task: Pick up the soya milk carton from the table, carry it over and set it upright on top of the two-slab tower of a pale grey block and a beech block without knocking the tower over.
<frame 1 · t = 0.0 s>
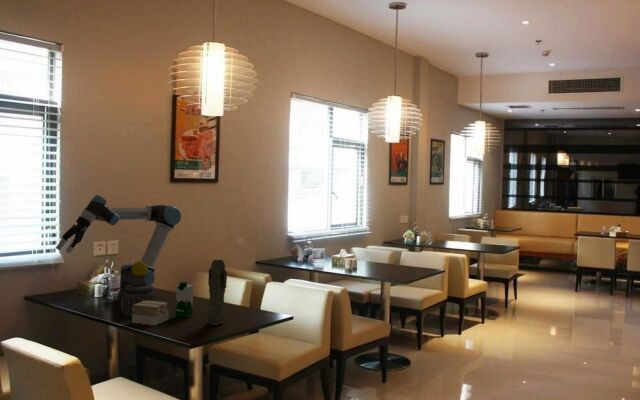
hand: (62, 250, 322), 36 cm above the table, tool tilted 35°, fingers open, 13 cm apart
thermos: (215, 323, 320), on the table
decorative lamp: (138, 313, 337), on the table
soya milk: (184, 317, 332), on the table
tower base: (150, 321, 319), on the table, touching tower top
tower top: (150, 312, 318), point 5 cm above the table, touching tower base
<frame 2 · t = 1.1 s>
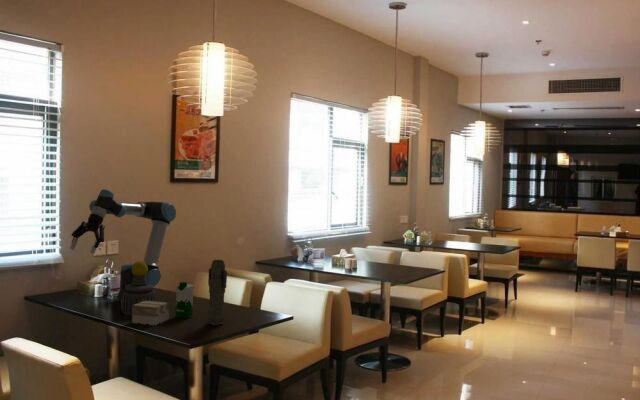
hand: (81, 251, 315), 37 cm above the table, tool tilted 30°, fingers open, 13 cm apart
nothing on the table moved.
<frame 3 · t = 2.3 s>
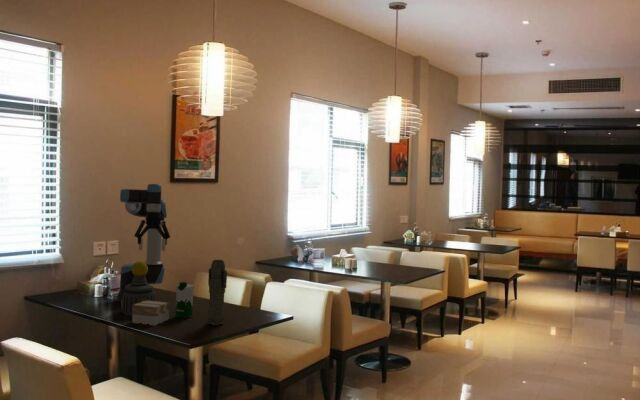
hand: (152, 250, 318), 39 cm above the table, tool pointing down, fingers open, 13 cm apart
nothing on the table moved.
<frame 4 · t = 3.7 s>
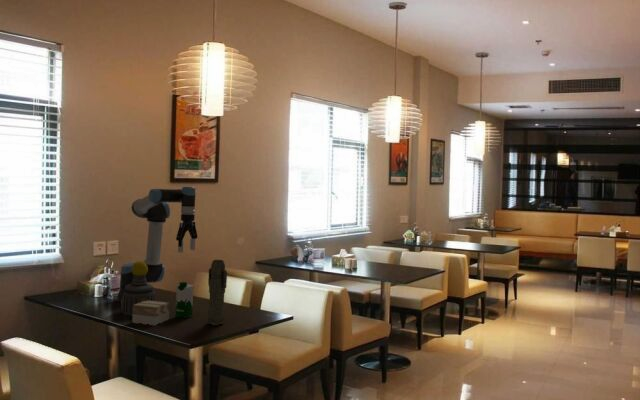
hand: (186, 251, 330), 38 cm above the table, tool pointing down, fingers open, 13 cm apart
nothing on the table moved.
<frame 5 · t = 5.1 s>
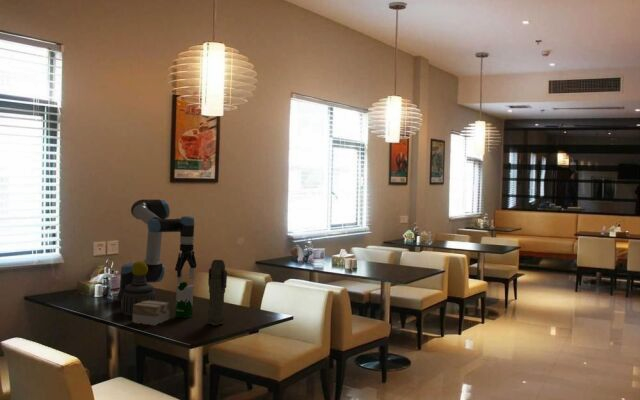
hand: (185, 280, 331), 21 cm above the table, tool pointing down, fingers open, 13 cm apart
nothing on the table moved.
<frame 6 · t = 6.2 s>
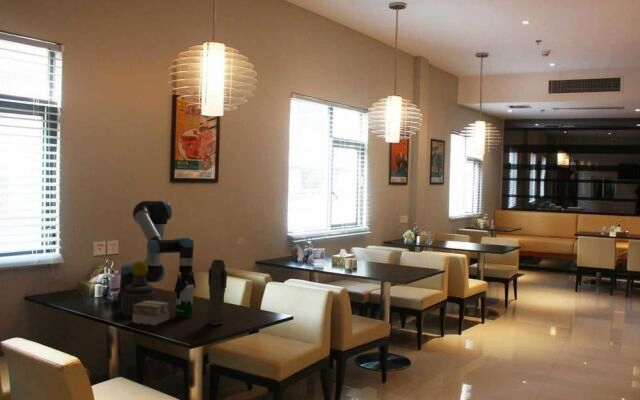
hand: (184, 301, 331), 9 cm above the table, tool pointing down, fingers open, 13 cm apart
tower base: (150, 321, 319), on the table
tower top: (151, 312, 319), point 5 cm above the table
everything else where it was.
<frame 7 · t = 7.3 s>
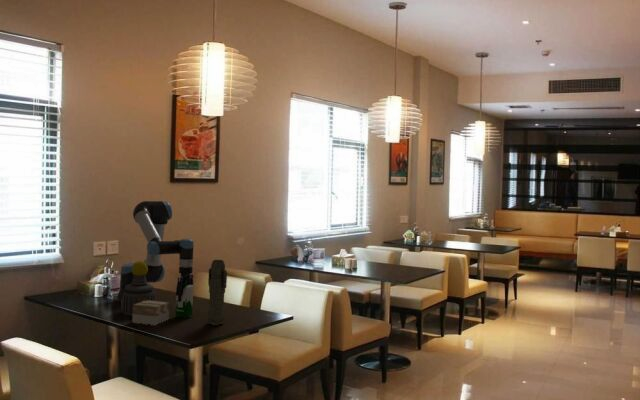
hand: (184, 305, 332), 6 cm above the table, tool pointing down, fingers closed on soya milk, 9 cm apart
soya milk: (184, 317, 332), on the table, touching gripper
tower base: (150, 321, 319), on the table, touching tower top
tower top: (151, 312, 319), point 5 cm above the table, touching tower base
everything else where it was.
when the fingers open (18 cm above the table, at t = 12.5 s): soya milk drops 2 cm, resting on tower top.
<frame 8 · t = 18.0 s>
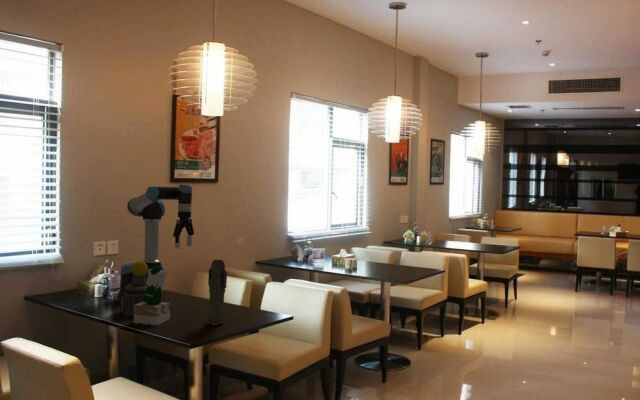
hand: (183, 247, 339), 39 cm above the table, tool pointing down, fingers open, 13 cm apart
soya milk: (151, 302, 319), point 10 cm above the table, touching tower top
tower top: (152, 312, 319), point 4 cm above the table, touching soya milk, tower base
everything else where it was.
at the end: soya milk inside the target area on the tower top (0.5 cm from its centre), point 5.2 cm above the tower top's base; tower top 0.4 cm from the tower base (horizontally); soya milk tilted 7° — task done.
